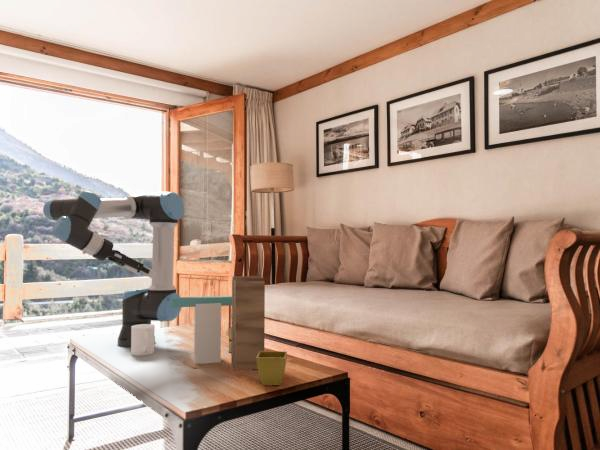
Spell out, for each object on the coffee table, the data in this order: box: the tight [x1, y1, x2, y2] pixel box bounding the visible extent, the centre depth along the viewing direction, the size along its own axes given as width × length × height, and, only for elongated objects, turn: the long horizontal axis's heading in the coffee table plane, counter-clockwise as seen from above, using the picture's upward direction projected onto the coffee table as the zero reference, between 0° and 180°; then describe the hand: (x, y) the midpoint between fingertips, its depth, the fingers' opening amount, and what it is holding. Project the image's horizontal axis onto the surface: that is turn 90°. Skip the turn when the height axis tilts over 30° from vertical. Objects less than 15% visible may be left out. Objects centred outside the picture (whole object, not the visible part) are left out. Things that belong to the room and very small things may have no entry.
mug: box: [130, 323, 155, 357], centre depth 181 cm, size 9×12×11 cm
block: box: [172, 295, 232, 308], centre depth 173 cm, size 3×25×3 cm, turn 105°
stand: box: [230, 275, 266, 372], centre depth 164 cm, size 10×10×31 cm
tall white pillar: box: [193, 303, 222, 365], centre depth 172 cm, size 8×9×21 cm
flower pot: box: [256, 350, 288, 386], centre depth 144 cm, size 9×9×9 cm
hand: (147, 273), depth 176 cm, fingers open, 13 cm apart
